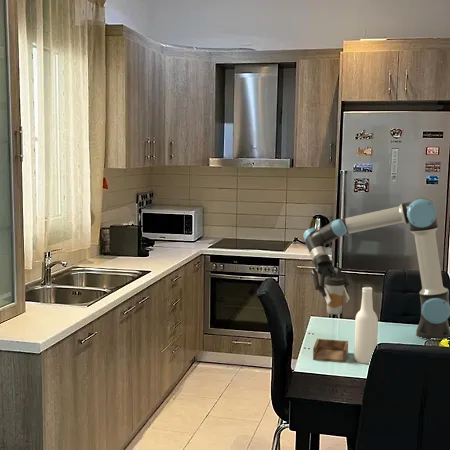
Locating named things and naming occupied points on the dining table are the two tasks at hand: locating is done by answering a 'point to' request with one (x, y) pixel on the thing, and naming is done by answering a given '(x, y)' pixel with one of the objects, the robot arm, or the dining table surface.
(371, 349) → the white bottle
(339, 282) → the coffee cup
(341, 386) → the dining table surface
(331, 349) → the cup holder
